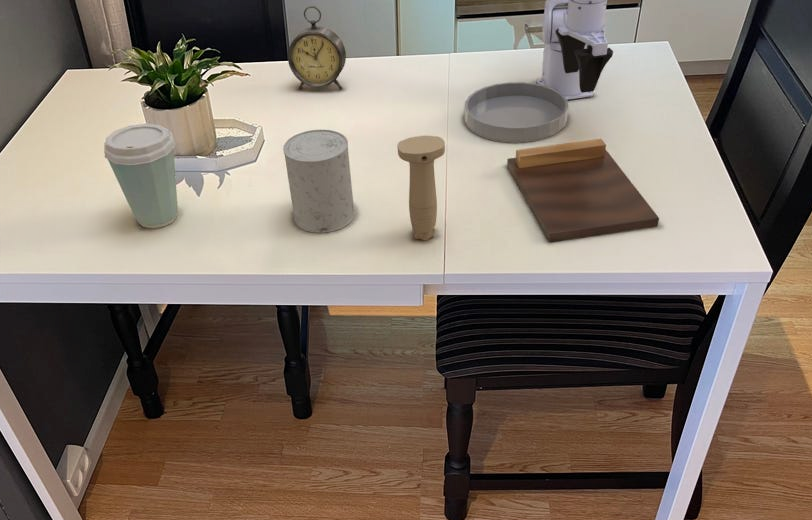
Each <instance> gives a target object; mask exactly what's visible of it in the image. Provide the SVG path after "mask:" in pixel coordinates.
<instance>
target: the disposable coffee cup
mask: <svg viewBox="0 0 812 520" xmlns="http://www.w3.org/2000/svg"><path fill="white" fill-rule="evenodd" d="M103 144H104V145H103V147H104V148H103V153H104V158H105V159H107V161H108V163H109V165H110V167H111V170H112V171H113V174H114V176H115V178H116V181H117V182H118V184H119V186H120V187H119V188H120V189H121V191H122V193H123V195H124V197H125V199H126V202H127V203H128V206H129V208H130V210H131V212H132V214H133V216H134V219H135V221H137V223H138V224H139V225H140V226H142V227H143V228H146V229H159V228H164V227H166V226H168V225H171V224H172V223H174V221H175V220H176V219H177V217H178V213H179V208H178V195H177V194H178V193H177V191H178V190H177V178H176V163H175V151H174V150H175V149H174V148H175V147H176V140H175V136H174V134H173V132H172V131H171V130H169V128H166V127H165V126H162V125H161V124H156V123H155V124H154V123H139V124H132V125H128V126H125V127H122V128H119V129H116V130H114V131H113V132H111V134H109V135H108V136H106V138H105V142H104V143H103Z"/></svg>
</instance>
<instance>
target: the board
mask: <svg viewBox="0 0 812 520" xmlns="http://www.w3.org/2000/svg"><path fill="white" fill-rule="evenodd" d="M506 167H507V170H508V171H509V173H510V175H511V177H512V178H513V180H514V182H515V184H516V186H517V187H518V189H519V191H520V192H521V194H522V196H523V198H524V199H525V201H526V203H527V205H528V207H529V209H530V210H531V212H532V214H533V216H534V218H535V219H536V221H537V223H538V224H539V226H540V228H541V230H542V232H543V234H544V235H545V237H546V239H547V241H548V243H553V242H559V241H567V240H574V239H580V238H587V237H595V236H600V235H601V236H602V235H610V234H615V233H623V232H631V231H636V230H643V229H651V228H657V227H658V226H659V222H660V217H659V216H658V215H657V214H656V212H655V211H654V209H653V208H652V207H651V206H650V204H649V203H648V202H647V200H646V199H645V198H644V196H642V194H641V193H640V191H639V190H638V189H637V187H636V186H635V185H634V184H633V182H632V181H631V179H630V178H628V176H627V175H626V174H625V172H624V171H623V170H622V168H621V167H620V166H619V165H618V163H617V162H616V161H615V160H614V158H613V157H612V155H611V154H610V153H609V152H608V150H607V148H606V149H605V156H604V157H599V158H592V159H585V160H577V161H570V162H563V163H556V164H548V165H541V166H534V167H527V168H519V167H518V165H517V164H516V157H510V158H509V157H508V158H507V160H506Z"/></svg>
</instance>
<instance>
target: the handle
mask: <svg viewBox="0 0 812 520" xmlns="http://www.w3.org/2000/svg"><path fill="white" fill-rule="evenodd" d="M445 151H446V142H445V140H444V139H443V137H441V136H438V135H437V136H436V135H417V136H411V137H406V138H405V139H402V140H400V141H399V142H398V143H397V156H398V157H399V158H400V159H401V161H405V162H408V163H409V165H408V166H409V187H408V188H409V189H408V210H409V219H410V223H411V229H412V233H413V238H414V239H416V240H422V241H423V242H424V241H425V242H426V241H429V239H431V238H434V236H435V235H436V228H435V227H436V223H437V218H438V217H437V215H438V199H437V197H438V196H437V189H436V188H437V187H436V177H435V176H436V175H435V161H436V160H437V159H439V158H441V157H443V156H444V154H445Z"/></svg>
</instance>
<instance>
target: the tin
mask: <svg viewBox="0 0 812 520" xmlns="http://www.w3.org/2000/svg"><path fill="white" fill-rule="evenodd" d="M568 113H569V100H567V99H566V98H565V96H564V95H563V94H561V93H560V92H558V91H557V90H555V89H552V88H550V87H547V86H544V85H539V84H538V83H534V82H524V81H512V82H511V81H510V82H502V83H501V82H500V83H494V84H491V85H488V86H484V87H482V88H479V89H477V90H475V91H474V92H473V93H471V94H470V95H468V97H467V98H466V100H465V102H464V123H465V125H466V127H467V129H469V130H470V131H471V132H472V133H474V134H475V135H477V136H479V137H480V138H481V137H482V138H483V139H487V140H490V141H495V142H502V143H511V144H513V143H514V144H516V143H519V144H520V143H529V142H530V143H531V142H536V141H540V140H544V139H547V138H550V137H552V136H554V135H556V134H557V133H559V132H561V130H562V129H563V128H564V127H565V126H566V124H567V120H568V115H569V114H568Z"/></svg>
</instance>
